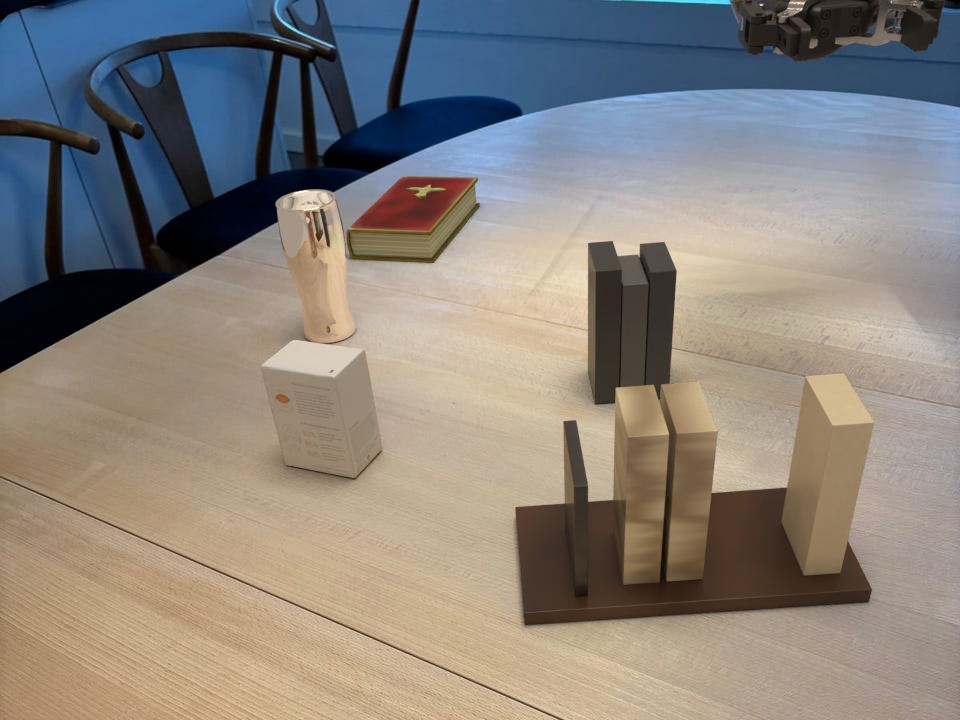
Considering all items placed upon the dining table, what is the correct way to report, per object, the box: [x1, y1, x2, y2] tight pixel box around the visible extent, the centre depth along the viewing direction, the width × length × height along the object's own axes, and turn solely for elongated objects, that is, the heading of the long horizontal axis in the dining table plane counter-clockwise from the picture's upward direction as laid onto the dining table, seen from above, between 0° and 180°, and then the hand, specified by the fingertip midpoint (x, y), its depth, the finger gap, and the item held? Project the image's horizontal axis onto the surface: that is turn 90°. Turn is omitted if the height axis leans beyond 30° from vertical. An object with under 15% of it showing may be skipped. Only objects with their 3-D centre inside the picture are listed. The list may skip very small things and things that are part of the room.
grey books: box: [587, 240, 678, 405], centre depth 96 cm, size 7×7×14 cm
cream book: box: [781, 372, 875, 576], centre depth 72 cm, size 3×7×13 cm, turn 1°
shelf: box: [514, 381, 873, 625], centre depth 74 cm, size 26×14×14 cm, turn 91°
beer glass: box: [275, 188, 357, 344], centre depth 110 cm, size 7×7×15 cm
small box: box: [260, 339, 383, 479], centre depth 91 cm, size 8×6×10 cm
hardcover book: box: [345, 175, 481, 264], centre depth 136 cm, size 12×21×4 cm, turn 163°
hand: (865, 40), depth 70 cm, fingers open, 8 cm apart
